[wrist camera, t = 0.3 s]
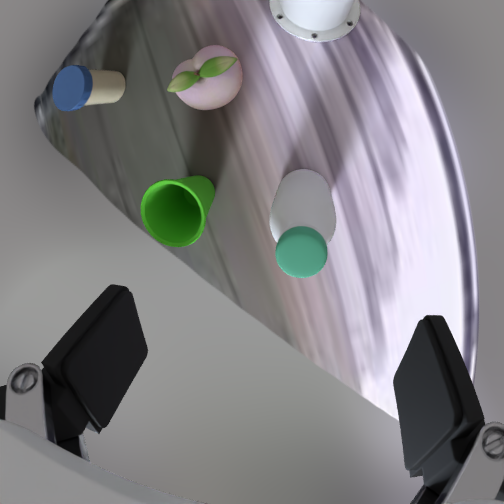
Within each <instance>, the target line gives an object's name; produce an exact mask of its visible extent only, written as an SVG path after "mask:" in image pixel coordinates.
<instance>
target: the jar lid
mask: <svg viewBox="0 0 504 504" xmlns="http://www.w3.org/2000/svg"><path fill="white" fill-rule="evenodd" d="M92 88H93V79H92V75H91V73H90V71H89V70H88V69H87V68H86V67H85V66H79V65H72V66H68V67H65V68H64V69H63V70H62V71H61V72H60V73H59V74H58V76H57V77H56V79H55V82H54V85H53V100H54V103H55V105H56V106H57V107H58V108H59V109H60V110H62V111H73V110H77V109H79V108H81V107H82V106H84V105H85V103H86V102H87V101H88V100H89V97H90V95H91V92H92Z"/></svg>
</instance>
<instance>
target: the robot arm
mask: <svg viewBox="0 0 504 504" xmlns="http://www.w3.org/2000/svg"><path fill="white" fill-rule="evenodd" d="M269 2H270V9H271V12H272V15H273V17H274V19H275V20H276V22H277V23H278V24H279V26H280V27H282V28H283V29H284V30H285V31H286V32H288V33H289V34H291V35H293V36H295V37H297V38H299V39H303V40H306V41H311V42H329V41H334V40H337V39H340V38H342V37H343V36H345V35H347V34H348V33H349V32H350V31H351V30H353V28H354V27H355V26H356V24H357V22H358V20H359V17H360V3H359V0H269ZM279 17H282V19H279ZM348 23H349V24H351V26H349V25H348ZM313 36H316V38H313ZM147 353H148V349H147V345H146V341H145V338H144V334H143V331H142V328H141V324H140V321H139V317H138V313H137V309H136V306H135V302H134V298H133V295H132V293H131V292H130V291H129V289H128V288H127V287H125V286H120V285H110V286H108V287H107V288H106V290H104V292H103V293H102V294H101V295H100V296H99V297H98V298H97V299H96V300H95V301H94V302H93V303H92V304H91V305H90V307H89V308H88V309H87V310H86V311H85V312H84V313H83V314H82V315H81V317H80V318H79V319H78V320H77V321H76V322H75V323H74V325H73V326H72V327H71V328H70V329H69V330H68V331H67V332H66V334H65V335H64V336H63V337H62V338H61V340H60V341H59V342H58V343H57V344H56V345H55V346H54V348H53V349H52V350H51V351H50V352H49V354H48V355H47V356H46V357H45V358H44V360H43V361H42V362H41V363H42V364H43V366H44V368H43V369H42V370H41V369H40V367H39V366H37V365H35V364H33V363H25V364H22V365H20V366H18V367H17V368H15V369H14V370H13V371H12V372H11V374H10V376H9V377H8V381H7V385H4V386H1V387H0V504H207V503H203V502H198V501H194V500H190V499H186V498H183V497H180V496H176V495H173V494H169V493H166V492H163V491H160V490H157V489H154V488H151V487H148V486H145V485H142V484H139V483H137V482H134V481H132V480H129V479H126V478H124V477H121V476H119V475H116V474H114V473H112V472H110V471H107V470H105V469H103V468H101V467H98V466H96V465H94V464H92V463H90V460H89V456H88V452H87V448H86V444H85V439H84V435H83V431H84V430H85V428H88V429H90V430H92V431H94V432H96V433H98V434H99V433H100V432H101V430H102V428H105V427H106V426H107V425H108V424H109V422H110V420H111V418H112V417H113V415H114V413H115V411H116V409H117V408H118V406H119V404H120V402H121V400H122V398H123V397H124V395H125V393H126V392H127V390H128V388H129V386H130V385H131V383H132V381H133V379H134V378H135V376H136V374H137V372H138V371H139V369H140V367H141V366H142V364H143V362H144V360H145V359H146V357H147ZM393 385H394V391H395V397H396V403H397V409H398V415H399V422H400V428H401V436H402V444H403V453H404V462H405V468H406V469H407V470H409V471H410V477H417V476H423V480H424V485H423V486H422V488H421V489H420V490H419V492H418V493H417V495H416V496H415V498H414V499H413V500H412V501H411V503H410V504H504V424H502V423H500V422H490V423H487V424H486V425H485V422H484V415H483V412H482V409H481V406H480V403H479V400H478V398H477V395H476V392H475V389H474V386H473V384H472V381H471V378H470V376H469V373H468V371H467V368H466V366H465V363H464V361H463V358H462V356H461V354H460V351H459V349H458V347H457V345H456V342H455V340H454V338H453V336H452V334H451V331H450V329H449V327H448V325H447V323H446V321H445V319H444V317H443V316H441V315H426V316H425V317H424V318H423V320H420V321H419V322H418V324H417V327H416V329H415V331H414V334H413V336H412V339H411V341H410V343H409V345H408V348H407V350H406V352H405V354H404V357H403V359H402V361H401V363H400V365H399V367H398V369H397V371H396V373H395V376H394V380H393Z"/></svg>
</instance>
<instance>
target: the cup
mask: <svg viewBox="0 0 504 504" xmlns="http://www.w3.org/2000/svg"><path fill="white" fill-rule="evenodd" d="M214 197H215V189H214V186H213V184H212V183H211V181H210V180H209V179H208V178H206V177H204V176H200V175H196V176H191V177H186V178H181V179H177V180H173V179H165V180H161V181H158V182H156V183H154V184H153V185H151V186H150V187H149V188H148V189H147V190H146V192H145V194H144V196H143V198H142V203H141V216H142V220H143V223H144V225H145V227H146V229H147V230H148V232H149V233H150V234H151V235H152V236H153V237H154V238H155V239H156V240H157V241H159V242H161V243H163V244H165V245H168V246H172V247H182V246H187V245H189V244H192V243H193V242H195V241H196V240H197V239H198V238H199V237H200V235H201V234H202V232H203V230H204V227H205V223H206V216H207V214H208V212H209V209H210V207H211V204H212V202H213V200H214Z"/></svg>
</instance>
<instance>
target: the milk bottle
mask: <svg viewBox="0 0 504 504" xmlns="http://www.w3.org/2000/svg"><path fill="white" fill-rule="evenodd" d="M270 228H271V232H272V235H273V237H274V239H275V241H276V242H277V246H276V260H277V263H278V265H279V266H280V268H281V269H282V270H283V271H284V272H285V273H287V274H289V275H291V276H293V277H298V278H306V277H310V276H313V275H315V274H317V273H318V272H319V271H320V270H321V269H322V268H323V267H324V265H325V263H326V260H327V245H328V243H329V242H330V241H331V239H332V237H333V235H334V232H335V228H336V213H335V207H334V203H333V199H332V195H331V192H330V189H329V186H328V184H327V182H326V180H325V179H324V178H323V177H322V176H321V175H320V174H318V173H317V172H315V171H312V170H309V169H298V170H295V171H292V172H290V173H289V174H287V175H286V176H285V177H284V178H283V179H282V181H281V183H280V185H279V187H278V190H277V193H276V196H275V198H274V202H273V205H272V208H271V213H270Z"/></svg>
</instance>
